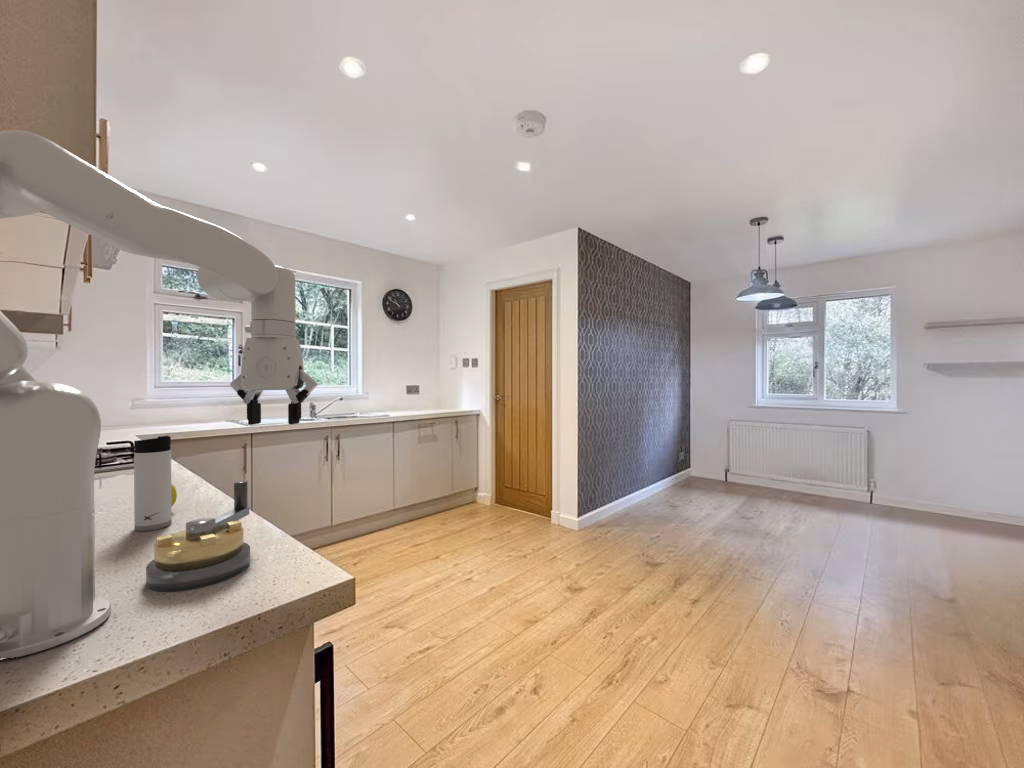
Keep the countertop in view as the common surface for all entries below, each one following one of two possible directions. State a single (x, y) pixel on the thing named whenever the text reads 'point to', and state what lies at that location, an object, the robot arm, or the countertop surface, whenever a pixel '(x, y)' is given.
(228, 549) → the yellow crank mechanism
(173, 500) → the lemon
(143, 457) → the travel mug
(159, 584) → the base
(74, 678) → the countertop surface
